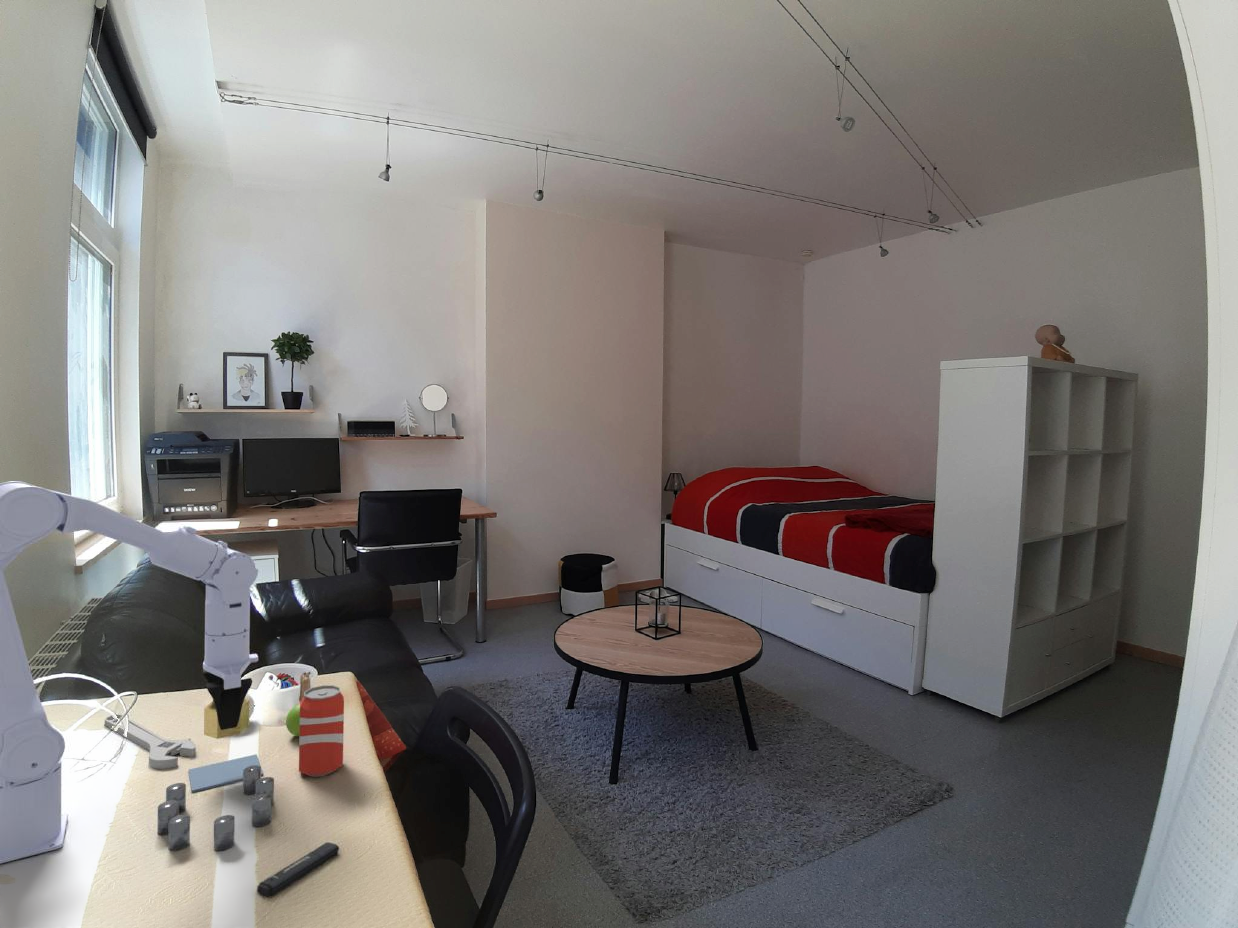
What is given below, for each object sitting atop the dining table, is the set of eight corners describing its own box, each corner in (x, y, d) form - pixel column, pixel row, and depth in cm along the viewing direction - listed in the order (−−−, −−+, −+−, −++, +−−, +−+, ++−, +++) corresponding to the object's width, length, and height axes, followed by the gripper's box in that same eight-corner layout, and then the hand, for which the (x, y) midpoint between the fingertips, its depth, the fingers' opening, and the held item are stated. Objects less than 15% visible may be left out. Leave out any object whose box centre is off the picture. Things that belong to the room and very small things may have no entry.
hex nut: (205, 741, 94) (205, 713, 94) (202, 728, 98) (202, 701, 98) (251, 731, 98) (251, 704, 98) (246, 719, 102) (247, 693, 102)
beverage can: (342, 756, 105) (343, 681, 104) (343, 775, 99) (344, 696, 99) (299, 762, 102) (301, 686, 102) (298, 782, 96) (299, 701, 96)
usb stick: (326, 849, 82) (327, 837, 82) (341, 856, 81) (341, 844, 81) (254, 894, 74) (254, 881, 74) (269, 903, 72) (269, 889, 72)
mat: (191, 792, 93) (191, 790, 93) (188, 771, 99) (188, 769, 99) (263, 774, 98) (263, 773, 98) (256, 755, 104) (256, 753, 104)
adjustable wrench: (100, 726, 113) (101, 716, 113) (145, 715, 118) (145, 705, 118) (156, 773, 98) (156, 761, 98) (204, 758, 103) (204, 746, 103)
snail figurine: (287, 747, 107) (288, 674, 107) (284, 731, 113) (285, 662, 112) (323, 740, 110) (324, 669, 109) (319, 725, 115) (320, 657, 115)
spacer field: (159, 869, 77) (159, 842, 77) (156, 811, 88) (156, 787, 88) (284, 832, 84) (284, 808, 84) (267, 783, 96) (267, 761, 96)
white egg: (259, 724, 115) (260, 692, 115) (223, 734, 111) (224, 701, 111) (243, 711, 120) (244, 680, 120) (208, 720, 116) (208, 688, 116)
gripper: (265, 639, 94) (264, 732, 95) (251, 615, 106) (250, 698, 106) (207, 647, 90) (206, 744, 90) (199, 621, 102) (198, 707, 102)
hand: (226, 720), depth 98 cm, fingers closed on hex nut, 5 cm apart
